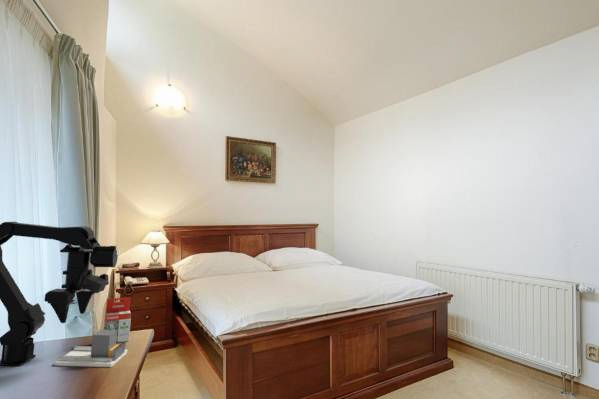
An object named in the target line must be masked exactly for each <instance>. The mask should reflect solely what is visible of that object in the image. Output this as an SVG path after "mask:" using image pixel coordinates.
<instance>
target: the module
mask: <svg viewBox="0 0 599 399" xmlns="http://www.w3.org/2000/svg"><path fill="white" fill-rule="evenodd" d="M116 339H117V330H104V329H99V330H98V331H97V332H95V333H94V334H92V339H91V340H92V341H91V347H92V348H91V356H94V357H108V354H109V350H110V349H111V348H112V347H114V346H115V345H117V343H116Z"/></svg>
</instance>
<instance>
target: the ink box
mask: <svg viewBox="0 0 599 399" xmlns="http://www.w3.org/2000/svg"><path fill="white" fill-rule="evenodd" d="M131 298H132V296H131V297H115V298H107V299H106V307H105V313H104V321H103V322H104V324H103V330H117V339H116V344H117V343H122V342H125V343H126V342H129V341H130V332H131V320H132V313H131V310H130V308H131Z"/></svg>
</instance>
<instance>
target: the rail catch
mask: <svg viewBox="0 0 599 399" xmlns="http://www.w3.org/2000/svg"><path fill="white" fill-rule="evenodd" d="M118 345H119V344H116V345H115V346H114V347H112V348H111V349H110V350H109V354H108V357H112V350H113V349H115V348H116V347H117V346H118Z"/></svg>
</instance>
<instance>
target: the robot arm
mask: <svg viewBox="0 0 599 399" xmlns="http://www.w3.org/2000/svg"><path fill="white" fill-rule="evenodd" d="M13 236H15V237H23V238H24V237H25V238H26V237H27V238H35V239H44V240H54V241H56V242H61V243H62V244H63V243H64V244H66V245H65V246H64V247H63V248H62V249H60V250H59V252H60V253H67V262H66V269H65V270H63V271H62V275H65V282H64V283H63V284H61V288H55V289H50V290H49V291H47V292H45V295H44V302H45V303H47V304H49V305H50V306H51V308H52V310H54V312H55V314H56V316H57V319H58V320H59V322H60V323H61V324H65V323H66V322H67V319H68V314H69V309H70V306H71V304H73V303H74V302H75V297H76V299H77V305H78V310H79V314H80V315H81V314H82V315H83V314H85V313H86V310H87V308H88V306H89V304H90V300H91V299H92V297H93V296H94V295H95V294H99V293H100V292H103V291H104V290H105V289H106V287H107V285H110V283H109V282H110V280H109V274H107V273H102V274H100V275H94V274H93V270H92V269H89V268H90V265H92V266H93V267H94V268H115V267H116V266H117V263H118V259H119V257H118V256H119V254H118V251H117V245H101V244H100V243H99V242H98V239H97V238H96V237H95V233H94V231H93V229H92V228H91V227H90V226H86V225H85V226H83V225H80V226H65V227H63V226H52V225H41V224H32V223H24V222H23V223H22V222H18V221H4V222H1V223H0V302H1V303H2V304H3V306H4V308H5V310H6V312H7V324H8V327H9V330H8V331H6V332H5V333H3V335H2V336H0V346H2V349H1V359H0V366H7V367H8V366H11V367H12V366H13V367H18V366H21V365H23V364H25V363H27V362H28V361H29V362H30V360H33V359H34V358H35V357H36V356H37V355H36V354H35V353H34V352H35V343H34V337H32V336H33V335H35V334H36V333H37V332H38V330H39V329H41V328H42V327H43V325H44V324H45V321H46V317H45V315H46V312H44V311H43V310H42V307H41V305H40V303H39V302H38V303H36V304H32V303H29V302H28V301H27V300H26V297H25V296H24V294H23V293H22V291H21V290H20V288H19V286H18V284H17V283H16V281H15V280H14V278H13V276H12V274H11V273H10V271H9V270H8V268H7V266H6V264H5V262H4V261H3V248H2V245H3V244H6V243H7V242H8V241H10V239H11V238H13Z"/></svg>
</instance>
